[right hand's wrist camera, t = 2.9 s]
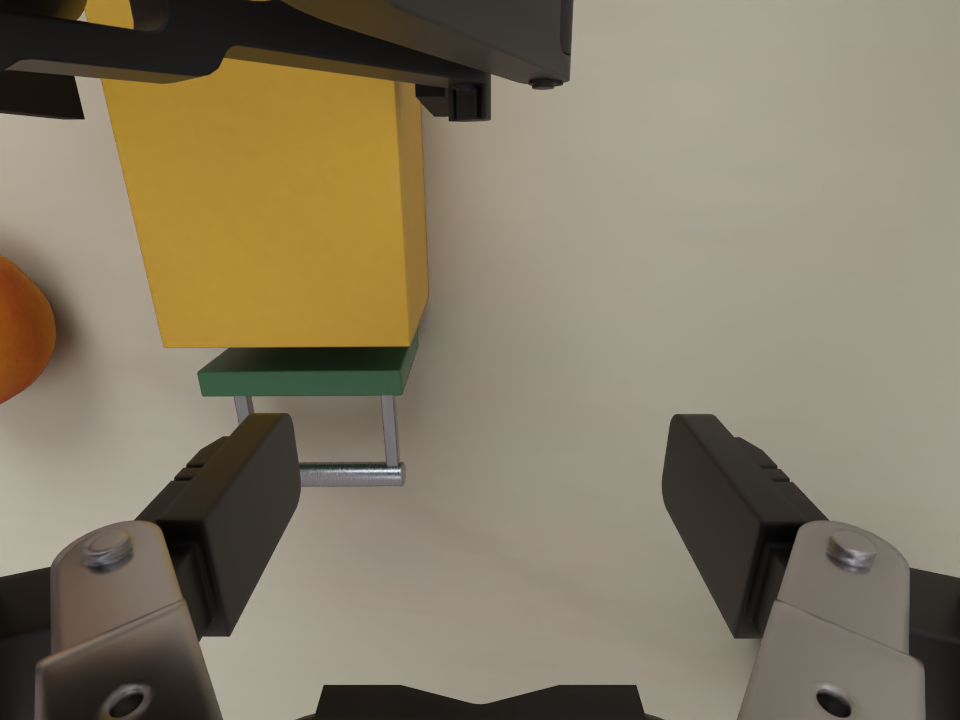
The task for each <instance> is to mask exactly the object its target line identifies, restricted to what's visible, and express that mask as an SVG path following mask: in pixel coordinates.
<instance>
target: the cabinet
mask: <svg viewBox="0 0 960 720" xmlns="http://www.w3.org/2000/svg"><path fill="white" fill-rule="evenodd" d="M85 13H86V17H87V21H88V22H90V23H96V24H103V25H109V26H116V27H122V28H129V29H133V25H134V22H133V17H132V12H131V7H130V2H129V0H87V4H86V6H85ZM101 81H102V85H103V90H104V94H105V98H106V103H107V107H108V111H109V115H110V120H111V124H112V128H113V132H114V137H115V141H116V145H117V150H118V154H119V158H120V162H121V167H122V171H123V175H124V179H125V184H126V188H127V192H128V197H129V201H130V205H131V209H132V214H133V218H134V222H135V226H136V231H137V235H138V239H139V244H140V248H141V252H142V256H143V261H144V265H145V269H146V273H147V278H148V282H149V286H150V291H151V295H152V299H153V303H154V308H155V312H156V316H157V320H158V325H159V329H160V333H161V338H162V342H163V346H164V348H236V347H399V346H410V345H411V342H412V340H413V337H414V335H415V332H416V329H417V326H418V324H419V321H420V318H421V316H422V313H423V310H424V308H425V305H426V302H427V300H428V297H429V286H428V263H427V240H426V217H425V193H424V170H423V147H422V124H421V102H420V101H419V100H418V99H417V98H416V97H415V84H413V83H406V82H399V81H391V80H384V79H376V78H369V77H362V76H354V75H347V74H340V73H332V72H325V71H317V70H310V69H303V68H295V67H288V66H281V65H273V64H266V63H258V62H251V61H244V60H236V59H229V58H223V60H222V62H221V65H220V67H219V68H218V69H217V70H216V71H214V72H213V73H212V74H210V75H207V76H203V77H198V78H194V79H189V80H185V81H181V82H176V83H168V84H158V83H147V82H136V81H125V80H114V79H103V78H101Z"/></svg>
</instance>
